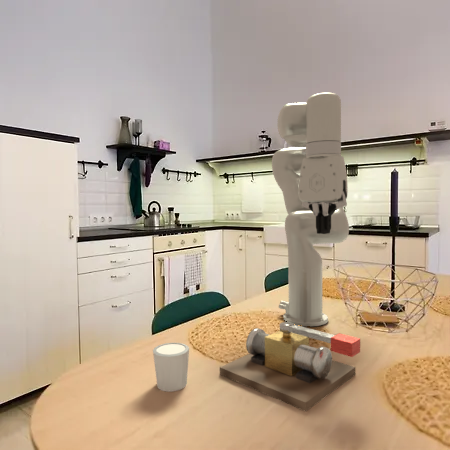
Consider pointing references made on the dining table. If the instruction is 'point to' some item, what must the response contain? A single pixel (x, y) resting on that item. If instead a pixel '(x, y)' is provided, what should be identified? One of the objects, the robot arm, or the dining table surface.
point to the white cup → (171, 366)
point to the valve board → (286, 381)
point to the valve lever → (326, 338)
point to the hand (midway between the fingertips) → (323, 233)
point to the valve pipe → (289, 354)
